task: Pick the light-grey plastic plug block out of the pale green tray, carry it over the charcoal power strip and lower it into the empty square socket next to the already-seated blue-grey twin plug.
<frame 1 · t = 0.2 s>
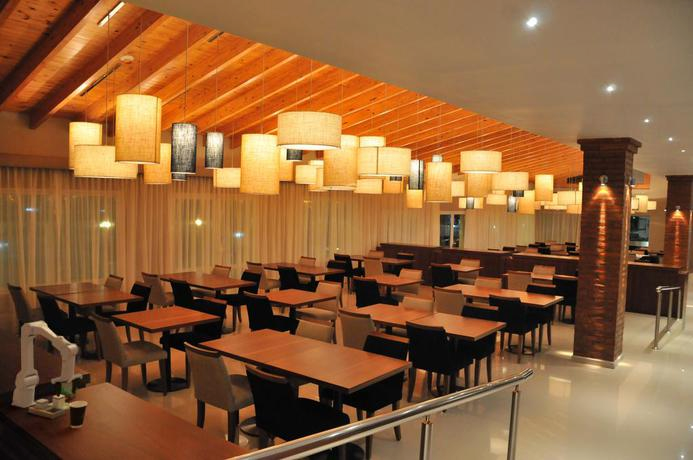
hand: (65, 394, 266), 10 cm above the table, fingers open, 7 cm apart
tray: (58, 408, 273), on the table
food container: (71, 398, 288), on the table
dixie cup: (76, 426, 253), on the table
plug: (58, 407, 273), resting on tray
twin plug: (41, 412, 266), resting in pdu strip
pdu strip: (47, 413, 265), on the table
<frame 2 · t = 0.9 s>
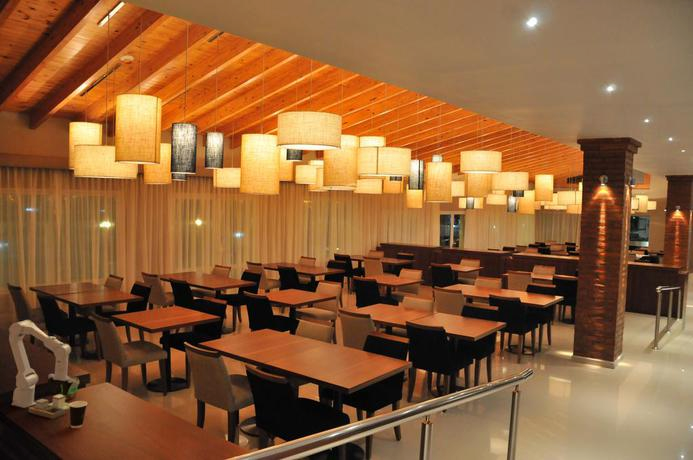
hand: (59, 393, 273), 8 cm above the table, fingers open, 7 cm apart
nothing on the table moved.
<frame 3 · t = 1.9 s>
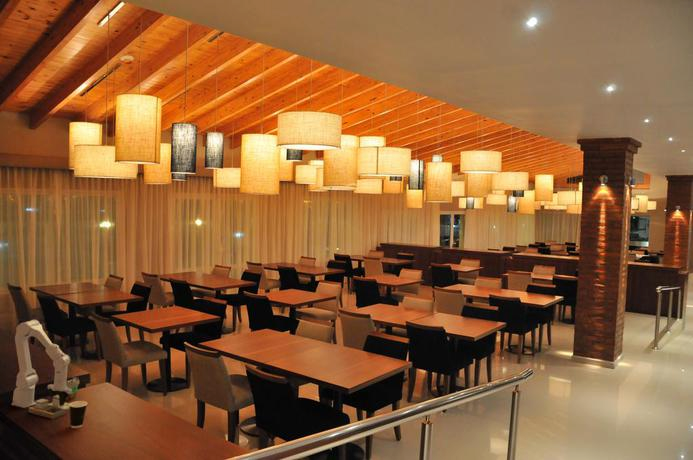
hand: (58, 404, 273), 2 cm above the table, fingers closed on plug, 4 cm apart
plug: (58, 407, 273), resting on tray, touching gripper
everything else where it was.
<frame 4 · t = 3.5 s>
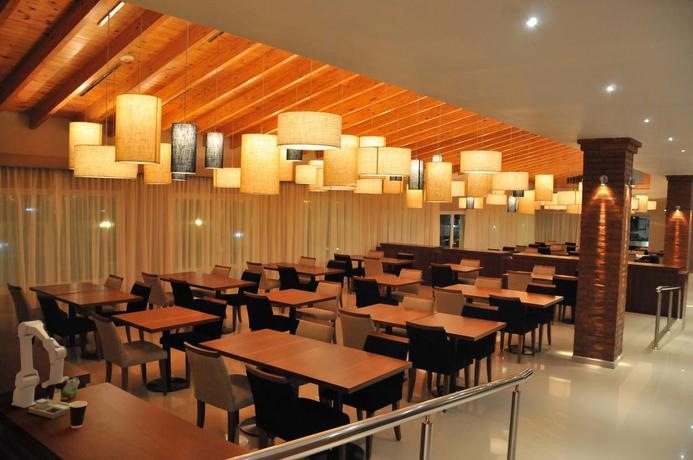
hand: (54, 398, 263), 9 cm above the table, fingers closed on plug, 4 cm apart
plug: (53, 401, 263), point 7 cm above the table, touching gripper
everything else where it was.
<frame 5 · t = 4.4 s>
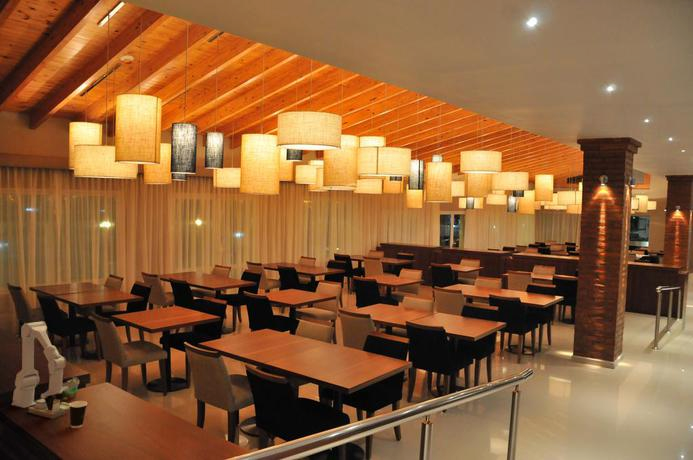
hand: (53, 408, 263), 3 cm above the table, fingers closed on plug, 4 cm apart
plug: (53, 412, 263), point 2 cm above the table, touching gripper
everything else where it was.
when the fingers open (3 cm above the table, at t = 4.9 s): plug drops 1 cm, resting in pdu strip.
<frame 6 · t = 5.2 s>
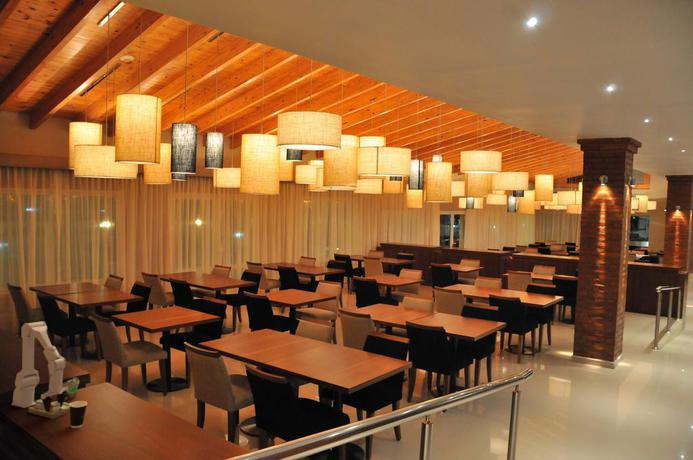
hand: (53, 408, 263), 3 cm above the table, fingers open, 7 cm apart
plug: (52, 415, 263), resting in pdu strip
everything else where it was.
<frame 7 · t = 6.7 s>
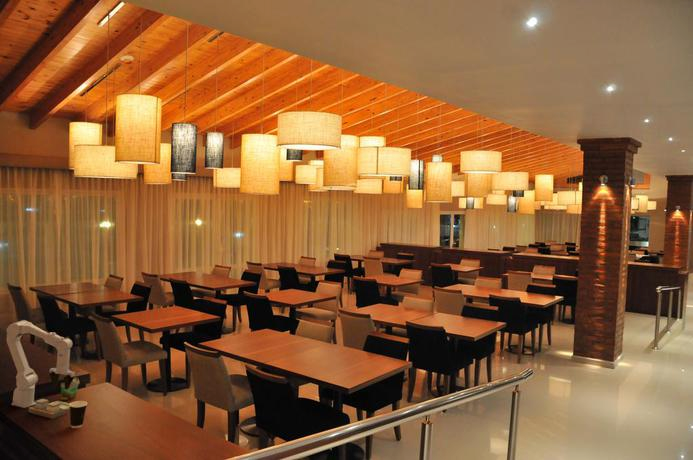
hand: (60, 387, 274), 10 cm above the table, fingers open, 7 cm apart
nothing on the table moved.
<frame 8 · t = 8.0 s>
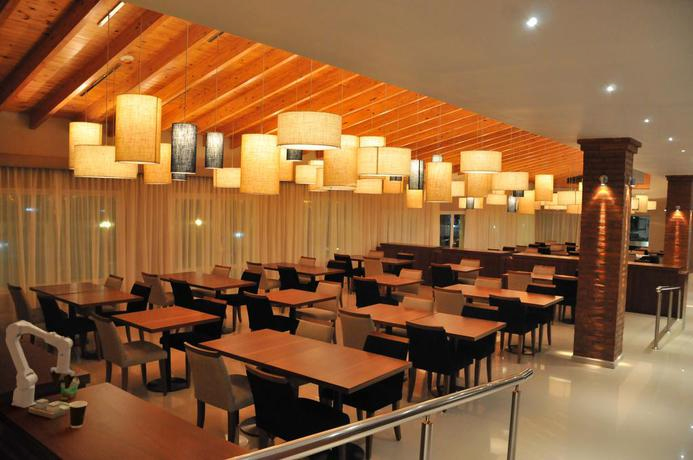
hand: (61, 387, 275), 10 cm above the table, fingers open, 7 cm apart
nothing on the table moved.
at the end: plug 0.2 cm from the target spot on the pdu strip, point 0.0 cm above the pdu strip's base; plug tilted 0°; the gripper is holding nothing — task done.
